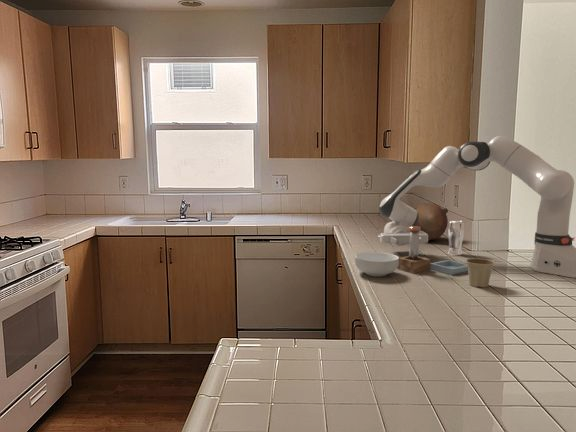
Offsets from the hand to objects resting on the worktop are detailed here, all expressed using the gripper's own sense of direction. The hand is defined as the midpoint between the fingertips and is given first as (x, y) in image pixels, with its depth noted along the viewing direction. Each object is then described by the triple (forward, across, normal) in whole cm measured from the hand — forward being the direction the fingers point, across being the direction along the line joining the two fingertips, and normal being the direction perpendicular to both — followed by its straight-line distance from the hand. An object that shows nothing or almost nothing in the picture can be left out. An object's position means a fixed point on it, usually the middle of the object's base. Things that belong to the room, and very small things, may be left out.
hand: (408, 241), depth 196 cm
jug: (-58, +25, +10) cm, 64 cm away
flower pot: (+31, +16, +10) cm, 37 cm away
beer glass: (-19, +27, +10) cm, 34 cm away
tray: (+11, +14, +10) cm, 20 cm away
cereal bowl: (+14, -16, +10) cm, 24 cm away
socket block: (+9, 0, +10) cm, 13 cm away
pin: (+9, 0, +10) cm, 13 cm away
